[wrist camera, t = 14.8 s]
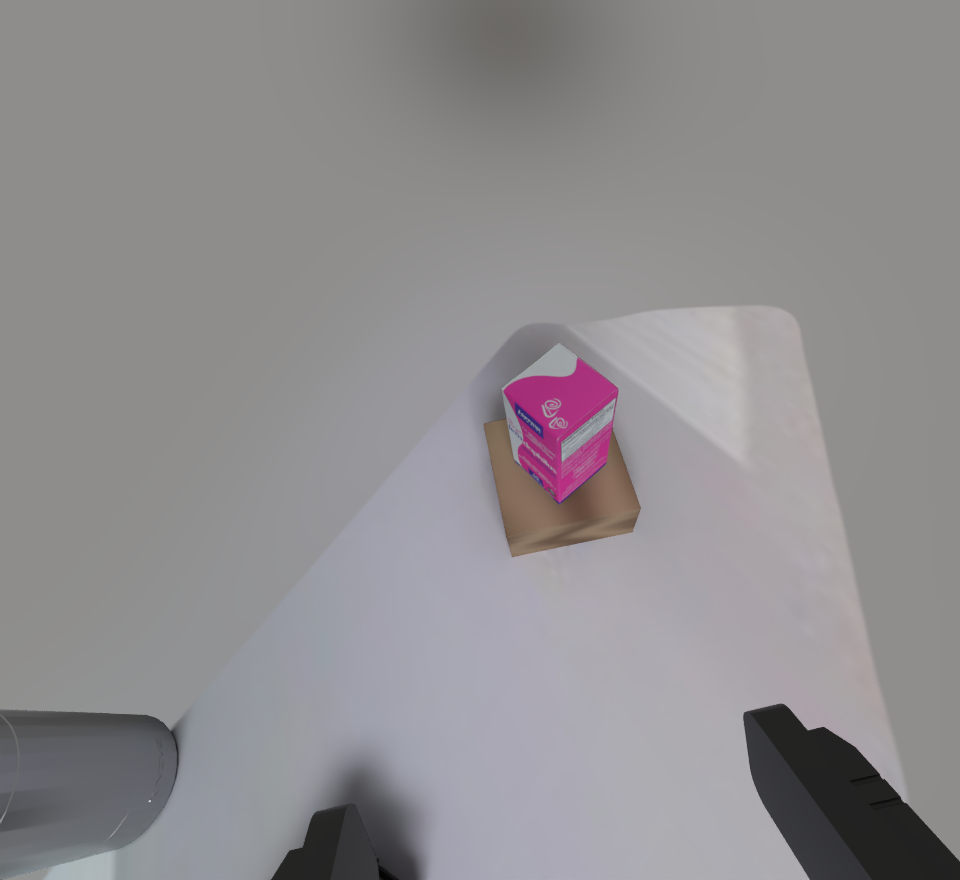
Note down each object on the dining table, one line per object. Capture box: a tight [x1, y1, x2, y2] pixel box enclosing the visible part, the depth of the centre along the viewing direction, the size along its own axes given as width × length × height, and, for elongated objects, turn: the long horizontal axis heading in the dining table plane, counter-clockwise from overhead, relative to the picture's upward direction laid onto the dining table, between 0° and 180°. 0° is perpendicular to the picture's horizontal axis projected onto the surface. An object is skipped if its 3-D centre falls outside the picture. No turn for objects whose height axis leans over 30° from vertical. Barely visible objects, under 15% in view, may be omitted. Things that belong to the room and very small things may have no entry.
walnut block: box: [484, 419, 641, 557], centre depth 46 cm, size 11×11×6 cm
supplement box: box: [501, 343, 619, 504], centre depth 39 cm, size 6×6×12 cm
